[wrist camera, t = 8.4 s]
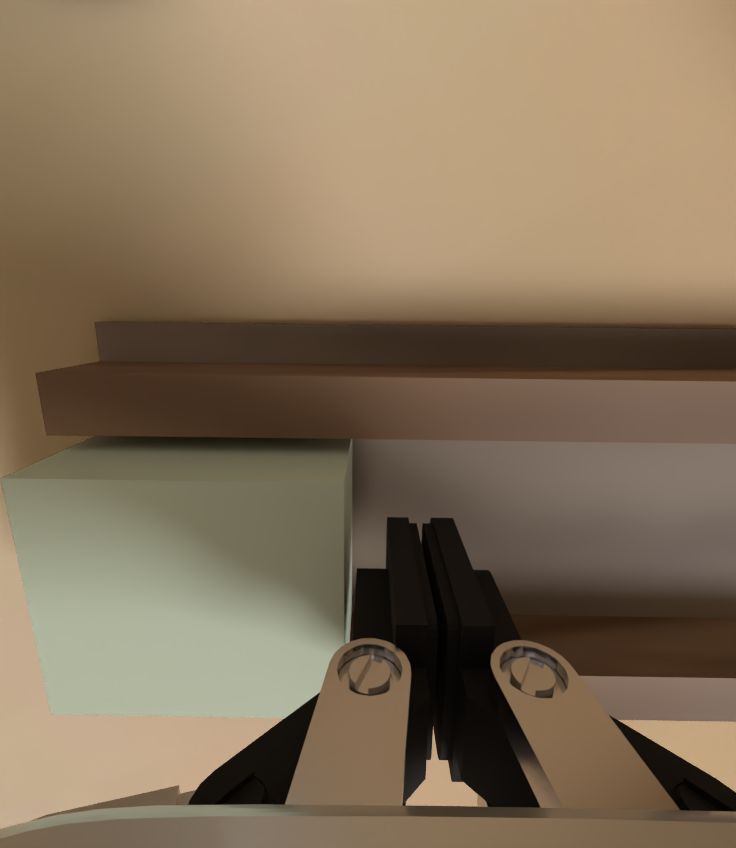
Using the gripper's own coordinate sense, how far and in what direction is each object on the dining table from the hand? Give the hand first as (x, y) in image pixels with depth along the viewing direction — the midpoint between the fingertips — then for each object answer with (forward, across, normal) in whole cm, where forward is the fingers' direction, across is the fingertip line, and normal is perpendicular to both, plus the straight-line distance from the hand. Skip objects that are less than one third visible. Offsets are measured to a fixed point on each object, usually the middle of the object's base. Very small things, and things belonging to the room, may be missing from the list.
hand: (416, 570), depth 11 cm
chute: (+3, -2, 0) cm, 4 cm away
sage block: (+3, +5, 0) cm, 6 cm away
